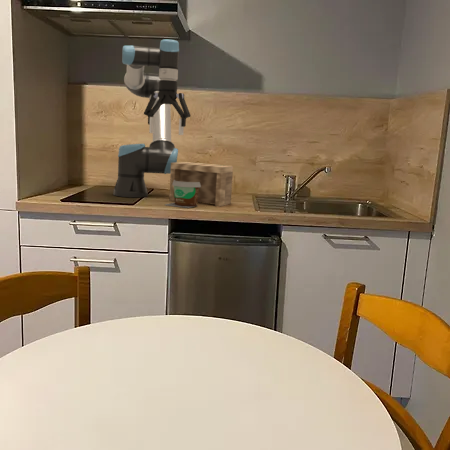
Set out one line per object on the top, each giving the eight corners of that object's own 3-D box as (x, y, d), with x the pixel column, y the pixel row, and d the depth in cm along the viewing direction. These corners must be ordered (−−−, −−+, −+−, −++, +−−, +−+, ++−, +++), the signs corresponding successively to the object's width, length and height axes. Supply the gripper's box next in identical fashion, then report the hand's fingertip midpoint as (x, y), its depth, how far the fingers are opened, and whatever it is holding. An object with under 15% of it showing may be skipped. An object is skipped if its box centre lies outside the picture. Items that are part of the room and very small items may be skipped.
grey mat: (164, 205, 217) (164, 204, 217) (173, 203, 224) (173, 202, 224) (188, 208, 213) (188, 207, 213) (197, 206, 220) (197, 205, 220)
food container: (166, 204, 217) (167, 180, 215) (173, 203, 222) (174, 179, 221) (193, 207, 212) (194, 183, 211) (199, 206, 218) (201, 182, 216)
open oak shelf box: (169, 200, 232) (170, 162, 229) (182, 197, 243) (184, 161, 240) (219, 206, 223) (221, 167, 220) (230, 203, 234) (233, 166, 231)
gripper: (136, 78, 213) (135, 132, 217) (191, 80, 204) (189, 135, 208) (146, 80, 220) (144, 132, 224) (200, 82, 211) (197, 135, 215)
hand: (166, 134), depth 216 cm, fingers open, 13 cm apart
